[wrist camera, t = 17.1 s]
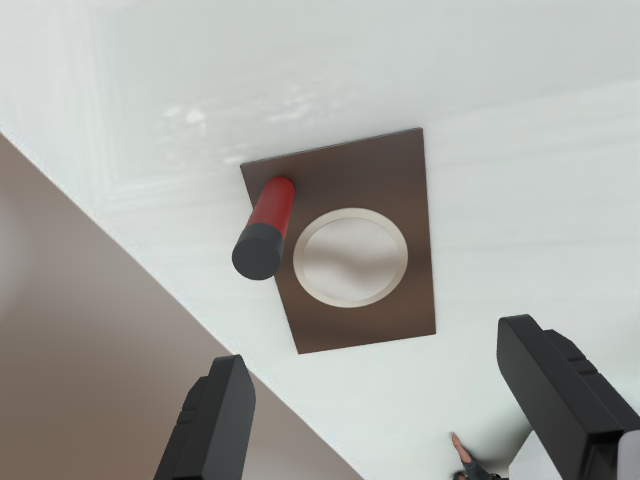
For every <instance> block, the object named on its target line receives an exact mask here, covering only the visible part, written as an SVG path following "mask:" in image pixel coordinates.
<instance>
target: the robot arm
mask: <svg viewBox="0 0 640 480" xmlns="http://www.w3.org/2000/svg"><path fill="white" fill-rule="evenodd" d="M497 362H498V366H499V369H500V371H501V374H502V376H503V378H504V379H505V381H506V383H507V384H508V386H509V388H510V390H511V391H512V393H513V395H514V397H515V398H516V400H517V402H518V403H519V405H520V407H521V409H522V410H523V412H524V414H525V416H526V417H527V419H528V421H529V422H530V424H531V426H532V428H533V429H534V431H535V433H536V435H537V436H538V438H539V440H540V441H541V443H542V445H543V447H544V448H545V450H546V452H547V454H548V455H549V457H550V459H551V460H552V462H553V464H554V466H555V467H556V469H557V471H558V473H559V474H560V476H561V478H562V479H563V480H640V417H639V415H638V414H637V413H636V412H635V411H634V410H633V409H632V408H631V407H630V405H629V404H628V403H627V402H626V401H625V400H624V399H623V398H622V397H621V395H620V394H619V393H618V392H617V391H616V390H615V389H614V388H613V387H612V385H611V384H610V383H609V382H608V381H607V380H606V379H605V378H604V377H603V375H602V374H601V373H598V371H597V369H596V368H595V367H594V365H593V364H592V363H591V362H590V361H589V360H587V359H586V357H585V355H584V354H583V353H582V352H581V351H580V350H579V349H578V348H577V347H576V345H575V344H574V343H573V342H572V341H570V340H569V339H567V338H566V337H564V336H562V335H561V334H559V333H558V332H556V331H554V330H553V329H551V330H544V331H543V330H542V329H541V327H540V326H539V325H538V324H537V323H536V321H535V320H534V319H533V318H532V317H531V316H530V315H528V314H523V315H516V316H509V317H502V318H500V319H499V322H498V337H497ZM255 398H256V396H255V389H254V385H253V383H252V380H251V378H250V375H249V373H248V370H247V368H246V365H245V363H244V361H243V358H242V356H241V355H239V354H237V355H231V356H224V357H217V358H215V359H214V361H213V364H212V366H211V369H210V372H209V375H208V376H205V377H200V378H199V379H198V381H197V382H196V383H195V385H194V386H193V387H192V388H191V389H190V391H189V392H188V395H187V397H186V400H185V402H184V404H183V407H182V412H180V414H179V417H178V419H177V425H176V426H175V427H174V429H173V432H172V434H171V437H170V439H169V442H168V444H167V447H166V449H165V452H164V454H163V457H162V459H161V462H160V464H159V467H158V469H157V472H156V474H155V476H154V479H153V480H241V478H242V473H243V468H244V462H245V457H246V452H247V447H248V441H249V436H250V431H251V426H252V421H253V415H254V410H255V403H256V399H255Z"/></svg>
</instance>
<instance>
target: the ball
mask: <svg viewBox="0 0 640 480" xmlns="http://www.w3.org/2000/svg"><path fill="white" fill-rule="evenodd" d="M454 436H455V434H454V435H453V436H452V441H453V444H454V446H455V448H456V450H457V451H458V452H459V454H460V457H461V462H462V463H463V465H464V467H465V469H466V471H467V475H468V477H466V476H464V475H462V474H460V473H458V474H456V475H455V476H454V478H453V480H563V479H562V478H561V476H560V474H559V473H558V471H557V469H556V467H555V466H554V464H553V462H552V460H551V459H550V457H549V455H548V454H547V452H546V450H545V448H544V447H543V445H542V443H541V441H540V440H539V438H538V436H537V435H536V433H535V431H534V430H533V431H532V432H531V433H530V435H529V436H528V438H527V439H526V441H525V443H524V444H523V446H522V447H521V449H520V450H519V452H518V454H517V455H516V457H515V458H514V460H513V461H512V463H511V465H510V466H509V478H501V477H500V476H499V475H498V474H494V473H491V474H489V473H487V472H486V471H485V470H483V469H482V468H481V467H479V466H478V465H477V463H476V462H475V459H474V458H473V457H472V456H471V455H470V454H468V453H467V452H466V451H465V450H464V449H463V448H462V447H461V446H460V442H459V440H458V439H457V437H456V436H455V437H454ZM494 475H496V476H494Z"/></svg>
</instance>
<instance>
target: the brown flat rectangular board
mask: <svg viewBox="0 0 640 480" xmlns="http://www.w3.org/2000/svg"><path fill="white" fill-rule="evenodd" d="M240 168H241V171H242V174H243V178H244V181H245V184H246V187H247V191H248V194H249V197H250V200H251V203H252V207H253V210H254V208H255V206H256V204H257V202H258V199H259V197H260V195H261V193H262V191H263V189H264V187H265V185H266V183H267V181H268V180H270V179H271V178H273V177H277V176H281V177H285V178H287V179H288V180H290V181H291V183H292V184H293V186H294V189H295V194H294V199H293V203H292V208H291V213H290V218H289V222H288V227H287V232H286V236H285V241H284V250H283V255H282V260H281V264H280V268H279V270H278V271H277V272H276V274H274V278H275V281H276V284H277V287H278V290H279V294H280V297H281V300H282V303H283V307H284V310H285V313H286V316H287V319H288V323H289V326H290V329H291V332H292V336H293V339H294V342H295V345H296V348H297V352H298V354H305V353H312V352H319V351H326V350H332V349H339V348H346V347H353V346H360V345H366V344H373V343H380V342H387V341H393V340H400V339H407V338H414V337H420V336H427V335H434V334H436V325H435V310H434V294H433V279H432V264H431V248H430V233H429V217H428V202H427V186H426V171H425V156H424V140H423V129H422V128H421V127H420V128H415V129H410V130H405V131H400V132H395V133H390V134H385V135H380V136H376V137H371V138H366V139H361V140H356V141H351V142H346V143H341V144H336V145H331V146H327V147H322V148H317V149H312V150H307V151H302V152H297V153H292V154H287V155H282V156H278V157H273V158H268V159H263V160H258V161H253V162H248V163H243V164H241V165H240Z"/></svg>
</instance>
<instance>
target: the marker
mask: <svg viewBox="0 0 640 480" xmlns="http://www.w3.org/2000/svg"><path fill="white" fill-rule="evenodd" d="M294 194H295V189H294V186H293V184H292V183H291V181H290V180H288V179H287V178H285V177H281V176H277V177H273V178H271V179H270V180H268V181H267V183H266V185H265V187H264V189H263V191H262V193H261V195H260V197H259V199H258V202H257V204H256V206H255V208H254V210H253V212H252V214H251V216H250V218H249V221H248V223H247V225H246V227H245V229H244V230H243V231H242V233H241V235H240V237H239V239H238V241H237V244H236V246H235V248H234V250H233V253H232V262H233V265H234V267H235V269H236V270H237V271H238V272H239V273H240V274H241V275H242V276H244V277H246V278H248V279H251V280H265V279H268V278H270V277H272V276H273V275H274V274H276V272H277V271H278V270H279V268H280V264H281V260H282V255H283V250H284V241H285V236H286V232H287V227H288V222H289V218H290V213H291V208H292V203H293V199H294Z"/></svg>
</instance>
